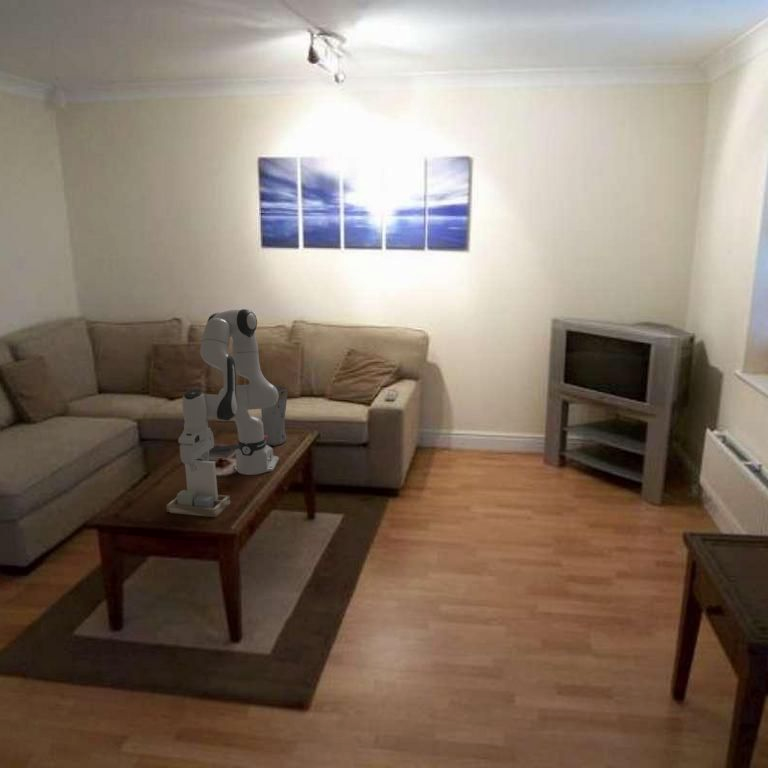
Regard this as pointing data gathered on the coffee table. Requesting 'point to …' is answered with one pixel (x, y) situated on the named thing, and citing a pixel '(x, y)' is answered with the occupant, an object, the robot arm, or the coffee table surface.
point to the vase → (275, 419)
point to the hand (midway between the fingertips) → (199, 466)
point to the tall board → (202, 479)
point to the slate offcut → (204, 501)
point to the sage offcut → (186, 498)
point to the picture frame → (221, 451)
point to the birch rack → (200, 511)
